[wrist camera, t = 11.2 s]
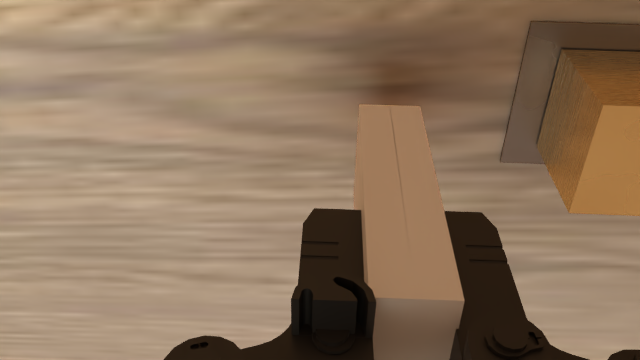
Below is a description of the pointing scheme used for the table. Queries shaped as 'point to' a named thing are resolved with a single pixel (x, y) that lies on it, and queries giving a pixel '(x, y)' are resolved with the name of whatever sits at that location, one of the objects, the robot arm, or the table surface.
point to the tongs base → (541, 72)
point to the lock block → (594, 131)
